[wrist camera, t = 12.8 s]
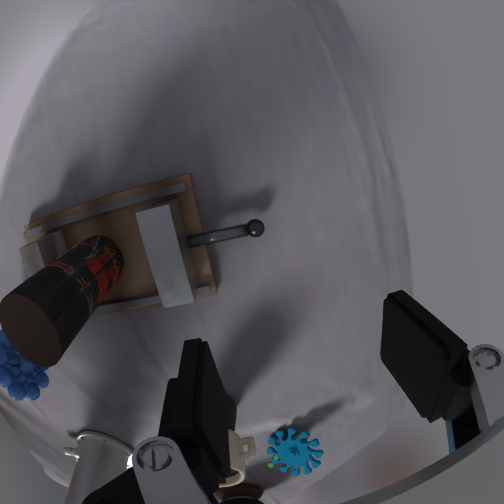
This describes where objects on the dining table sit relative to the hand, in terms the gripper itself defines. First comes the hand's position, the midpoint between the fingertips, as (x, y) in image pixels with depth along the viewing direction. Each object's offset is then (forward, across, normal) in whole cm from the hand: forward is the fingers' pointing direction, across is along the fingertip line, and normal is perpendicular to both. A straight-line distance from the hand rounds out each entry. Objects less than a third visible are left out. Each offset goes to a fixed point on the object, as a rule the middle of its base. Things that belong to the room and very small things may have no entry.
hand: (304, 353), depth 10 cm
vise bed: (+22, +16, 0) cm, 27 cm away
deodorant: (+21, +17, 0) cm, 27 cm away
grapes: (+22, +35, +10) cm, 42 cm away
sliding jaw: (+20, +4, 0) cm, 21 cm away
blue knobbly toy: (+22, 0, +38) cm, 44 cm away
